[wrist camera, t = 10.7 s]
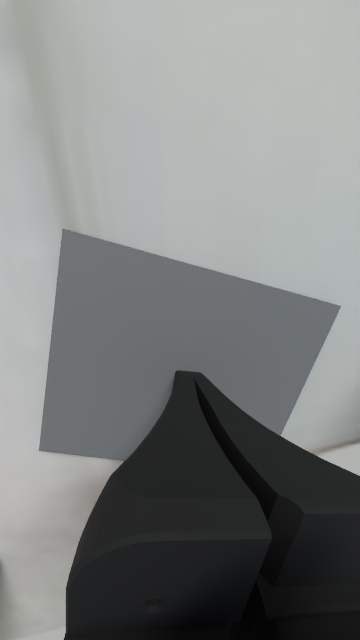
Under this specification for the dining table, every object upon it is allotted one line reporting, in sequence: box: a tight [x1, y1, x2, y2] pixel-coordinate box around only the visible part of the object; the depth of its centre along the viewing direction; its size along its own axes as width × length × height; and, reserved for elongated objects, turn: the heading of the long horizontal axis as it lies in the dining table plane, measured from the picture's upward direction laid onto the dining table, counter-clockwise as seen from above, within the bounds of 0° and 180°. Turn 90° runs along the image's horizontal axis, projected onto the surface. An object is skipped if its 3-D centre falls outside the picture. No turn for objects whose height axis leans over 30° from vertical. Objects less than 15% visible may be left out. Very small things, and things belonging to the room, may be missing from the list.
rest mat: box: [39, 229, 341, 460], centre depth 11 cm, size 14×12×1 cm
